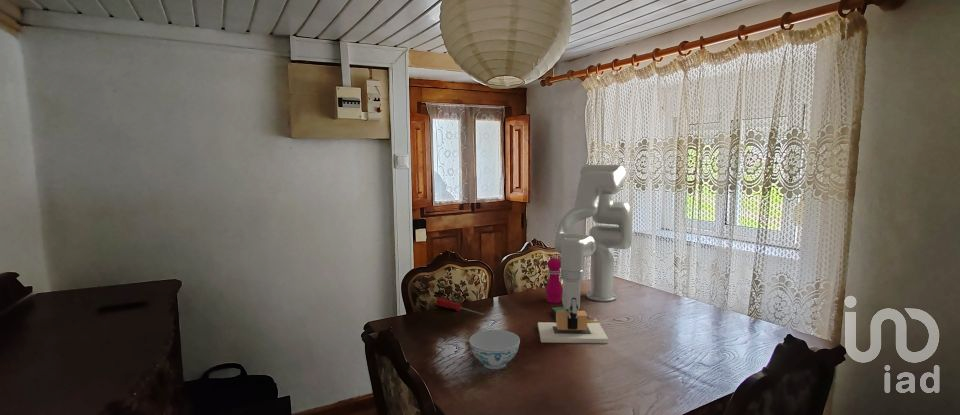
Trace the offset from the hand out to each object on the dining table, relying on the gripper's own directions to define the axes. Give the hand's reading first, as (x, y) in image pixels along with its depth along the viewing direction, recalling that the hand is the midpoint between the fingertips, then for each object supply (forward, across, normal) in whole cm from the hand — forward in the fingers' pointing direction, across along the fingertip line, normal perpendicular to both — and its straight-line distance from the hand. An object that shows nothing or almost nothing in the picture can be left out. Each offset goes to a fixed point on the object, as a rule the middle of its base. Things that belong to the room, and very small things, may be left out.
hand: (571, 325), depth 154 cm
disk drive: (+4, -16, +2) cm, 17 cm away
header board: (+3, 0, 0) cm, 3 cm away
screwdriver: (+4, -22, -41) cm, 46 cm away
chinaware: (+4, +23, -26) cm, 35 cm away
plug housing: (+1, 0, +2) cm, 2 cm away
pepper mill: (+3, -36, -2) cm, 36 cm away
